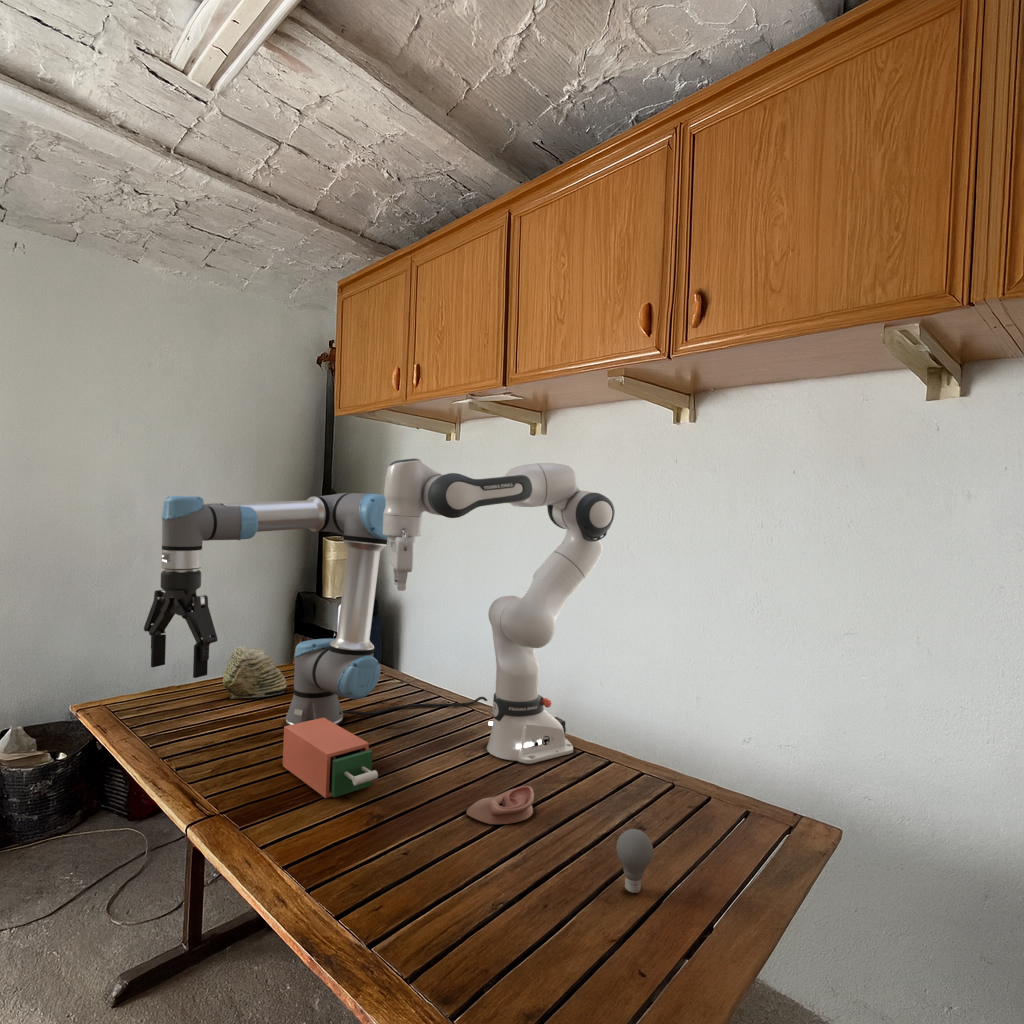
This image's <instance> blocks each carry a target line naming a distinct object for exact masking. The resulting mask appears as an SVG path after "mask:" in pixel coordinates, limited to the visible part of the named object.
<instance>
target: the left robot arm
mask: <svg viewBox="0 0 1024 1024" xmlns="http://www.w3.org/2000/svg"><path fill="white" fill-rule="evenodd" d="M385 506H386V502H385V497H384V494H377V493H374V492H373V493H371V492H369V493H365V492H364V493H362V492H361V493H360V492H341V493H340V492H339V493H334V494H328V495H327V494H326V495H318V496H309V498H307V499H306V500H281V501H280V500H279V501H278V500H277V501H275V500H274V501H246V502H220V503H218V502H217V503H216V502H213V503H205V502H204V498H203V497H201V496H195V495H194V496H189V495H169V496H166V497H165V498H164V500H163V505H162V511H161V512H162V513H161V523H162V524H161V556H160V557H161V565H160V566H161V569H163V570H162V571H161V572H160V589H156V590H154V594H153V601H152V603H151V606H150V609H149V612H148V615H147V617H146V619H145V623H144V626H143V631H144V632H148V635H149V636H150V667H151V668H158V667H162V666H165V665H166V649H167V647H166V646H167V645H166V643H167V632H166V629H167V627H168V626H169V624H170V623H171V621H172V619H173V618H174V616H175V615H177V616H180V617H181V618H182V619H184V620H185V622H186V624H187V626H188V628H189V630H190V632H191V634H192V636H193V638H194V640H195V644H194V645H193V662H192V663H193V666H192V671H193V672H192V678H194V679H197V678H200V677H204V676H208V667H209V665H208V663H209V659H210V645H211V644H213V643H217V642H218V635H217V631H216V628H215V625H214V621H213V618H212V615H211V611H210V607H209V597H208V595H207V594H205V595H197V590H198V589H200V588H201V587H202V571H201V570H199V569H201V568H202V567H203V541H204V542H208V541H241V540H249V539H250V540H251V539H252V538H254V537H255V536H256V534H257V533H260V532H262V533H263V532H276V531H277V532H278V531H291V530H304V529H305V530H306V529H307V530H310V531H311V532H329V533H336V534H342V535H343V538H342V542H343V543H344V545H345V546H346V547H347V553H346V561H345V568H344V576H343V584H342V593H341V601H340V606H339V615H338V624H337V631H336V637H335V638H317V639H308V640H304V641H300V642H299V643H298V644H297V645H296V646H295V650H294V655H293V657H294V672H293V673H294V674H293V695H292V696H293V697H292V699H291V702H290V704H289V708H288V711H287V713H286V715H285V726H288V725H293V724H297V723H302V722H306V721H310V720H315V719H319V718H326V719H327V720H329V721H331V722H333V723H334V724H336V725H338V726H340V725H342V723H343V722H344V715H345V714H346V715H347V714H348V715H362V716H373V715H378V714H382V713H386V712H389V711H392V710H393V711H394V710H398V709H399V710H400V709H406V708H418V707H461V706H462V707H464V706H471V705H474V704H476V703H477V702H479V701H480V700H483V701H484V702H488V700H489V699H487V698H486V697H485V696H478V697H477V698H475V699H474V700H472V701H467V702H457V703H456V702H454V703H449V702H447V703H411V704H410V703H409V704H403V705H396V706H395V705H394V706H389V707H387V708H383V709H379V710H376V711H375V710H374V711H358V710H343V709H342V706H341V702H340V699H339V697H340V698H344V699H350V700H360V699H363V698H366V697H367V696H368V695H370V693H371V692H372V691H373V690H374V689H375V688H376V686H377V684H379V683H378V682H379V680H380V677H381V664H380V663H379V661H378V659H377V658H375V656H374V653H375V646H374V644H373V643H372V642H371V639H370V638H371V630H372V623H373V615H374V614H373V613H374V606H375V598H376V589H377V581H378V574H379V567H380V566H379V565H380V557H381V551H382V550H383V549H384V548H386V547H387V546H388V535H383V515H384V510H385ZM473 701H474V702H473Z"/></svg>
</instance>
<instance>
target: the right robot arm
mask: <svg viewBox="0 0 1024 1024" xmlns="http://www.w3.org/2000/svg"><path fill="white" fill-rule="evenodd" d="M577 477H578V476H577V474H576V472H575V471H574V469H573V468H572V467H571V466H570V465H567V464H563V463H555V462H554V463H553V462H537V463H526V464H522V465H519V466H515V467H512V468H510V469H508V471H507V472H506V473H505V475H503V476H498V477H497V476H495V477H485V478H472V477H469V476H466V475H464V474H461V473H457V472H449V473H445V474H442V473H441V472H438V471H436V470H434V469H432V468H431V467H429V466H428V465H426V464H425V463H423V462H422V460H421V459H419V458H405V459H398V460H394V461H392V462H391V463H390V464H389V465H388V466H387V469H386V473H385V481H384V490H383V491H384V493H383V495H384V497H385V502H386V506H385V510H384V515H383V535H388V540H387V546H388V558H389V563H390V564H391V566H392V567H393V570H392V571H393V584H394V585H395V586H396V588H397V590H398V591H399V592H400V591H401V592H404V591H406V590H407V580H408V574H409V573H412V571H413V568H414V544H415V543H416V537H421V536H422V521H423V519H422V518H423V513H424V512H426V513H429V514H431V515H435V516H441V517H442V516H443V517H445V518H448V519H459V518H462V517H464V516H466V515H467V514H469V513H470V512H472V511H474V510H475V509H477V508H480V507H485V506H492V505H493V506H494V505H501V504H502V505H503V504H509V505H511V506H513V507H517V508H538V507H545V506H546V507H547V508H546V509H547V514H548V517H549V520H550V521H551V522H552V523H553V524H554V526H557V527H558V528H560V529H563V530H566V532H565V536H564V538H563V540H562V541H561V543H560V544H559V545H558V546H557V547H556V548H555V549H554V550H553V551H552V552H551V553H550V554H549V556H548V557H547V558H546V559H545V560H544V561H543V562H542V564H541V565H540V566H539V567H538V568H537V569H536V570H535V572H534V573H533V575H532V582H531V584H530V585H529V587H528V589H527V591H526V593H525V594H524V595H523V596H522V597H520V596H516V595H503V596H500V597H497V598H496V599H495V600H493V601H492V603H491V604H490V606H489V608H488V621H489V623H490V626H491V631H492V640H493V649H494V652H495V653H494V655H495V666H496V668H495V692H494V693H493V701H492V717H493V719H492V721H488V726H491V729H490V736H489V739H488V743H487V745H486V751H487V752H488V753H489V754H490V755H492V756H494V757H496V758H499V759H502V760H508V761H515V762H519V763H521V764H522V763H523V764H527V765H532V764H536V763H539V762H544V761H547V760H551V759H555V758H559V757H563V756H566V755H570V754H573V753H574V745H573V744H572V743H571V741H570V740H568V739H567V738H566V732H567V729H566V721H565V720H563V719H562V718H560V717H559V716H553V715H552V714H550V712H548V711H547V710H546V709H545V708H551V706H552V701H551V699H549V698H548V697H543V696H542V695H540V694H539V683H540V682H539V681H540V664H539V661H538V658H537V656H536V652H535V649H540V648H543V647H545V646H546V645H548V644H549V643H550V642H551V641H552V639H553V637H554V635H555V631H556V622H557V619H558V617H559V615H560V613H561V611H562V609H563V608H564V606H565V604H566V603H567V601H568V600H569V598H570V597H571V596H572V595H573V594H574V593H575V592H576V590H577V589H578V588H579V587H580V586H581V584H582V583H583V582H584V581H585V580H586V578H588V576H589V575H590V574H591V572H592V571H593V569H594V568H595V566H596V565H597V564H598V562H599V560H600V558H601V556H602V554H603V552H604V547H603V543H602V541H601V540H602V539H604V538H605V537H606V536H607V534H608V531H609V529H610V528H611V527H612V526H613V525H612V524H613V522H614V520H615V513H616V512H615V511H616V510H615V506H614V504H613V502H612V500H610V499H609V498H608V497H607V496H606V495H604V494H601V493H600V492H593V491H588V490H580V488H579V486H578V478H577ZM544 707H545V708H544Z"/></svg>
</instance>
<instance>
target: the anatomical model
mask: <svg viewBox="0 0 1024 1024" xmlns="http://www.w3.org/2000/svg"><path fill="white" fill-rule="evenodd" d="M534 801H535V793H534V789H533V788H532V786H530V785H521V786H517V787H515V788H512V789H511V788H510V789H508V790H506V791H504V792H502V793H500V794H498V795H495V796H491V797H485V798H482V799H479V800H477V801H476V802H474V803H472V804H471V805H470V806H469V807H468V808H467V810H466V812H465V813H466V815H467V816H468V817H470V818H472V819H474V820H476V821H478V822H481V823H484V824H487V825H508V824H514V823H518V822H522V821H525V820H527V819H529V818H530V817H532V815H533V813H534V808H533V803H534Z"/></svg>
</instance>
